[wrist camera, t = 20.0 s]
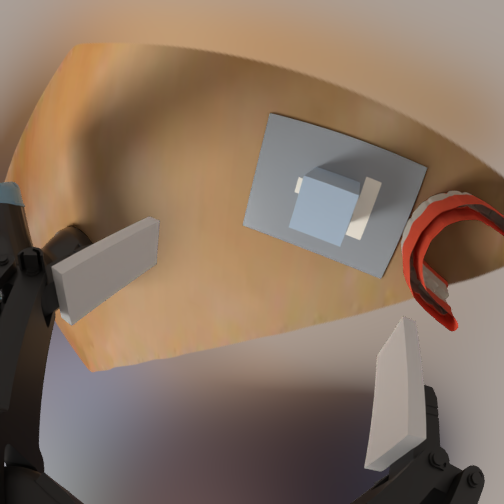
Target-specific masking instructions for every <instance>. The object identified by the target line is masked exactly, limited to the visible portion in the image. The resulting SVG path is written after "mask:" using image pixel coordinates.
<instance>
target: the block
mask: <svg viewBox="0 0 504 504" xmlns="http://www.w3.org/2000/svg"><path fill="white" fill-rule="evenodd" d="M359 191H360V182H358V181H355V180H353V179H350V178H347V177H344V176H342V175H339V174H336V173H333V172H330V171H328V170H325V169H322V168H319V167H315V168H314V169H313V170H311V171H310V172H308V173H307V174H305V175H304V177H303V180H302V184H301V187H300V191H299V194H298V197H297V201H296V204H295V208H294V211H293V214H292V218H291V221H290V224H289V228H292V229H295V230H297V231H300V232H303V233H305V234H308V235H310V236H313V237H316V238H318V239H321V240H324V241H326V242H329V243H331V244H334V245H337V246H339V247H340V246H341V243H342V241H343V238H344V235H345V233H346V230H347V227H348V225H349V222H350V219H351V217H352V214H353V211H354V208H355V206H356V203H357V200H358V197H359Z"/></svg>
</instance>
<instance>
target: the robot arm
mask: <svg viewBox="0 0 504 504" xmlns="http://www.w3.org/2000/svg"><path fill="white" fill-rule="evenodd" d="M24 207H25V205H24V204H23V200H22V196H21V192H20V188H19V186H18V185H17V184H16V183H15V182H4V183H0V504H84V503H82V502H81V501H80V500H78V499H77V498H76V497H75V496H74V495H72V494H71V493H70V492H69V491H68V490H66V489H65V488H63V487H62V486H61V485H59V484H58V483H57V482H55V481H54V480H53V479H52V478H50V477H49V476H48V475H47V474H45V473H44V462H43V457H42V455H41V452H40V449H39V425H40V410H41V399H42V390H43V382H44V375H45V368H46V362H47V356H48V350H49V345H50V340H51V335H52V330H53V325H54V321H55V311H57V310H58V309H59V308H60V313H61V317H62V318H63V319H64V320H65V321H67V322H68V323H69V324H70V325H73V324H75V323H76V322H77V321H79V320H80V319H81V318H83V317H84V316H85V315H87V314H88V313H89V312H91V311H92V310H93V309H95V308H96V307H97V306H99V305H100V304H101V303H103V302H104V301H106V300H107V299H108V298H110V297H111V296H112V295H114V294H115V293H116V292H118V291H119V290H121V289H122V288H123V287H125V286H126V285H128V284H129V283H130V282H132V281H133V280H135V279H136V278H137V277H139V276H140V275H142V274H143V273H144V272H146V271H147V270H149V269H150V268H152V267H153V266H154V265H156V264H157V250H158V237H159V225H160V221H159V220H157V219H154V218H152V217H147V218H145V219H142V220H140V221H138V222H136V223H134V224H132V225H130V226H128V227H126V228H124V229H122V230H120V231H118V232H116V233H114V234H112V235H110V236H108V237H106V238H104V239H102V240H100V241H98V242H96V243H94V244H92V243H91V242H90V240H89V239H88V238H87V236H86V235H85V234H84V233H83V232H82V231H80V230H79V229H77V228H75V227H67V228H64V229H62V230H60V231H59V232H57V233H56V235H55V236H54V237H53V238H52V239H51V240H50V241H49V242H48V243H47V244H46V245H45V246H44V247H43V248H42V249H40V248H36V247H33V244H32V240H31V236H30V232H29V228H28V223H27V219H26V214H25V209H24ZM437 408H438V406H437V397H436V395H435V392H434V390H433V388H432V387H429V386H426V385H424V380H423V370H422V361H421V353H420V345H419V338H418V331H417V325H416V321H414V320H412V319H410V318H407V317H404V316H403V317H402V318H401V320H400V321H399V323H398V325H397V326H396V328H395V329H394V331H393V332H392V334H391V335H390V337H389V339H388V340H387V342H386V343H385V345H384V346H383V348H382V349H381V351H380V352H379V354H378V355H377V364H376V381H375V393H374V403H373V413H372V421H371V429H370V437H369V443H368V449H367V456H366V461H365V468H367V469H371V470H376V471H383V470H384V469H386V468H387V467H389V466H390V471H389V474H388V475H387V476H385V477H384V478H382V479H380V480H379V481H377V482H375V483H374V484H375V485H374V486H373V487H372V488H370V489H369V490H368V491H367V492H365V493H364V494H363V495H361V496H360V497H359V498H357V499H356V500H355V501H353V502H352V503H350V504H478V501H479V498H480V495H481V492H482V490H483V487H484V481H485V480H484V475H483V473H482V471H481V470H480V469H479V467H477V466H474V465H473V466H469V467H467V468H466V469H464V470H463V471H462V470H460V469H459V468H457V467H455V466H453V465H451V464H450V463H449V457H448V454H447V453H446V451H445V450H444V449H443V448H441V447H440V437H439V418H438V409H437ZM4 462H5V463H6V466H4Z"/></svg>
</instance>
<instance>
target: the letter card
mask: <svg viewBox="0 0 504 504" xmlns="http://www.w3.org/2000/svg"><path fill="white" fill-rule="evenodd" d="M315 167H319V168H322V169H325V170H328V171H330V172H333V173H336V174H339V175H342V176H344V177H347V178H350V179H353V180H355V181H358V182H360V191H359V197H358V200H357V203H356V206H355V208H354V211H353V214H352V217H351V219H350V222H349V225H348V227H347V230H346V233H345V235H344V238H343V241H342V243H341V246H340V247H339V246H337V245H334V244H331V243H329V242H326V241H324V240H321V239H318V238H316V237H313V236H310V235H308V234H305V233H303V232H300V231H297V230H295V229H292V228H289V224H290V221H291V218H292V214H293V211H294V208H295V204H296V201H297V197H298V194H299V191H300V187H301V184H302V180H303V177H304V175H305V174H307V173H308V172H310V171H311V170H313V169H314V168H315ZM426 170H427V167H425V166H422V165H420V164H418V163H416V162H413V161H411V160H409V159H407V158H404V157H402V156H399V155H397V154H395V153H392V152H390V151H387V150H385V149H382V148H380V147H377V146H374V145H372V144H369V143H367V142H364V141H361V140H358V139H355V138H353V137H350V136H347V135H344V134H341V133H338V132H335V131H332V130H329V129H326V128H322V127H319V126H316V125H312V124H309V123H306V122H302V121H299V120H295V119H291V118H288V117H284V116H280V115H276V114H272V113H270V115H269V119H268V123H267V127H266V131H265V135H264V139H263V143H262V147H261V151H260V155H259V159H258V163H257V167H256V172H255V176H254V180H253V184H252V188H251V192H250V197H249V201H248V205H247V209H246V213H245V218H244V222H243V226H246V227H249V228H251V229H254V230H257V231H259V232H262V233H265V234H267V235H270V236H273V237H275V238H278V239H281V240H283V241H286V242H288V243H291V244H294V245H296V246H299V247H301V248H304V249H307V250H309V251H312V252H314V253H317V254H319V255H322V256H325V257H327V258H330V259H332V260H335V261H337V262H340V263H342V264H345V265H347V266H350V267H352V268H355V269H358V270H360V271H363V272H365V273H368V274H370V275H372V276H375V277H377V278H380V279H381V277H382V275H383V273H384V271H385V269H386V267H387V265H388V263H389V261H390V259H391V257H392V254H393V252H394V250H395V248H396V246H397V243H398V241H399V239H400V237H401V234H402V232H403V230H404V227H405V225H406V223H407V220H408V218H409V215H410V213H411V210H412V208H413V205H414V203H415V200H416V197H417V195H418V192H419V190H420V187H421V184H422V181H423V178H424V176H425V173H426Z"/></svg>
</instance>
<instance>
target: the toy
mask: <svg viewBox="0 0 504 504" xmlns="http://www.w3.org/2000/svg"><path fill="white" fill-rule="evenodd" d="M462 220H479V221H482V222H484V223H485V224H486V225H488V226H491V227H492V228H493V229H495V230H496V231H498V232H499V233H500V234H502V235H503V236H504V216H503V215H502V214H501V213H500V212H498V211H497V210H496V209H494V208H493V207H492V206H490V205H489V204H487V203H486V202H484V201H483V200H481V199H479V198H477V197H475V196H473V195H471V194H469V193H467V192H464V193H461V192H459V191H449V192H448V193H445V194H444V193H441V194H437V195H434V196H432V197H429V199H428V200H426V201H424V202H423V203H421V204H420V206H419V207H418V208H417V209H416V210H415V211H414V213H413V214H412V218H410V219H409V220H408V222H407V224H406V227H405V229H404V232H403V239H402V241H401V248H402V256H403V273H404V276H405V280H406V282H407V284H408V286H409V288H410V290H411V293H412V294H413V296H414V298H415V299H416V301H417V302H418V303H419V304H420V305H421V306H422V307H423V308H424V309H425V310H426V311H427V312H428V313H429V314H430V315H431V316H433V317H434V318H435V319H436V320H437V321H438V322H439V323H441V324H442V325H444V326H445V327H446V328H447V329H448V330H450V331H455V330H456V329H457V328H458V323H457V321H456V319H455V318H454V316H453V314H452V312H451V307H450V306H449V305H448V304H447V302H446V300H445V299H446V298H447V297H448V296H449V294H448V290H447V287H448V283H447V281H446V280H445V279H443V278H442V277H441V276H440V275H439V274H438V273H437V272H435V271H434V270H433V269H432V268H431V267H430V266H429V265H428V264H427V263H426V262H425V261H424V260H423V258H424V255H425V253H426V251H427V249H428V247H429V244H430V242H431V240H432V239H433V238H434V237H435V236H436V235H437V234H438V233H439V232H440V231H441V230H442V229H443V228H444V227H446V226H447V225H449V224H452V223H455V222H458V221H462ZM434 291H435V292H434Z"/></svg>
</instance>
